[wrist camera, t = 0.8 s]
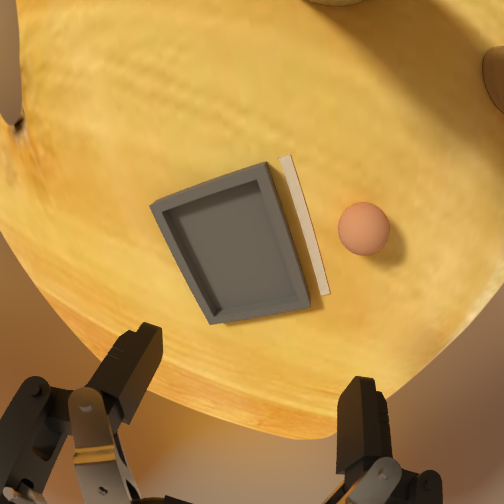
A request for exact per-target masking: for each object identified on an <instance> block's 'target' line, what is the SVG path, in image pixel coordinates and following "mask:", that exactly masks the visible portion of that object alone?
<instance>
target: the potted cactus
mask: <svg viewBox="0 0 504 504" xmlns="http://www.w3.org/2000/svg"><path fill="white" fill-rule="evenodd" d="M307 1H310V2H313V3H317V4H321V5H328V6H346V5H351V4H355V3H358V2H360V1H363V0H307Z"/></svg>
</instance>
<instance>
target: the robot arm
mask: <svg viewBox="0 0 504 504" xmlns="http://www.w3.org/2000/svg"><path fill="white" fill-rule="evenodd" d="M483 76H484V81H485V84H486V88H487V90H488V93H489V95H490V97H491V99H492V100H493V102H494V104H495V105H496V106H497V107H498V109H499V110H500V111H502V112H503V113H504V46H500V47H495V48H491V49H490V50H489V51H488V52H487V53H486V55H485V57H484V60H483ZM162 355H163V339H162V328H161V327H158V326H155V325H152V324H149V323H146V322H143V323H142V324H141V326H140V327H139V329H138V330H137V332H133V331H131V330H128V331H127V332H125V333H124V334H122V335H121V336H119V338H118V339H117V340H116V342H115V343H114V345H113V347H112V348H111V349H110V351H109V352H108V355H107V356H106V357H105V358H104V360H103V361H102V363H101V364H100V366H99V367H98V369H97V370H96V372H95V373H94V375H93V377H92V378H91V380H90V381H89V382H88V384H87V385H85V386H84V387H81V388H77V389H76V390H65V389H60V388H55V387H50V386H49V384H48V382H47V381H46V380H45V379H43V378H42V377H38V376H32V377H29V378H27V379H26V380H25V381H24V382H23V383H22V385H21V386H20V388H19V390H18V391H17V393H16V394H15V396H14V397H13V399H12V401H11V402H10V404H9V406H8V407H7V409H6V411H5V413H4V415H3V416H2V418H1V420H0V504H47V502H46V500H45V498H44V497H43V495H42V492H43V490H44V488H45V485H46V483H47V480H48V478H49V475H50V473H51V471H52V468H53V466H54V464H55V461H56V459H57V457H58V455H59V453H60V450H61V448H62V446H63V444H64V442H65V440H66V438H67V436H68V435H72V436H73V440H74V445H75V450H76V453H75V455H74V457H73V460H74V466H75V471H76V474H77V478H78V482H79V485H80V489H81V493H82V496H83V499H84V502H85V504H192V503H189V502H185V501H182V500H179V499H176V498H173V497H170V496H167V495H166V496H165V498H159V497H158V498H157V497H151V498H141V495H140V492H139V490H138V487H137V485H136V482H135V480H134V478H133V475H132V473H131V471H130V469H129V466H128V463H127V460H126V457H125V454H124V450H123V447H122V444H121V440H120V437H119V433H118V428H119V426H120V424H121V422H124V423H126V424H128V425H129V424H130V422H131V420H132V418H133V416H134V414H135V412H136V410H137V408H138V406H139V404H140V402H141V400H142V398H143V396H144V394H145V392H146V390H147V388H148V386H149V384H150V382H151V380H152V378H153V376H154V374H155V372H156V370H157V368H158V366H159V364H160V362H161V359H162ZM387 414H388V409H387V402H386V400H385V398H384V396H383V394H382V392H379V391H376V386H375V381H374V379H373V378H368V377H361V376H355V377H354V378H353V380H352V381H351V382H350V384H349V385H348V386H347V388H346V389H345V390H344V392H343V393H342V394H341V396H340V398H339V401H338V406H337V461H336V474H345V480H344V481H343V482H342V483H341V484H340V485H339V486H338V487H337V488H336V490H334V492H332V493H331V495H330V496H329V497H328V498H327V499H326V500H325V501H324V502H323V503H322V504H443V497H442V496H443V494H442V480H441V477H440V475H439V474H438V473H437V472H436V471H434V470H427V471H424V472H422V473H421V474H418V473H414V472H411V471H407V470H404V469H402V468H401V467H400V464H399V463H398V462H397V461H396V460H394V459H393V456H392V447H391V436H390V426H389V417H388V415H387Z"/></svg>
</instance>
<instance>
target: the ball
mask: <svg viewBox="0 0 504 504" xmlns="http://www.w3.org/2000/svg"><path fill="white" fill-rule="evenodd" d="M338 233H339V237H340V240H341V242H342V244H343V245H344V246H345V247H346V248H347V249H348V250H349V251H350V252H352V253H354V254H357V255H362V256H366V255H371V254H374V253H376V252H378V251H379V250H380V249H381V248H382V247H383V246H384V245H385V243H386V242H387V239H388V236H389V223H388V219H387V217H386V215H385V214H384V212H383V211H382V210H381V209H380V208H379V207H377V206H375V205H373V204H371V203H365V202H362V203H356V204H353V205H351V206H350V207H348V208H347V209H346V210H345V211H344V212H343V214H342V215H341V217H340V220H339V224H338Z"/></svg>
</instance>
